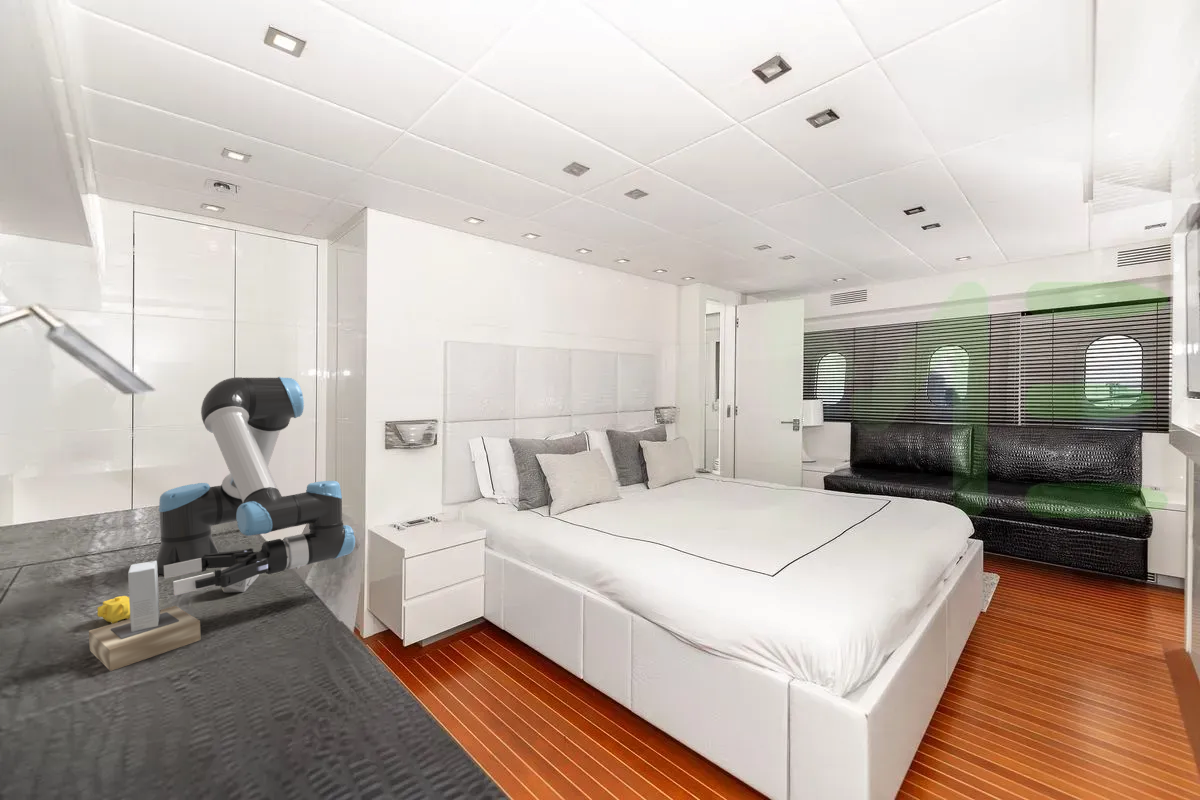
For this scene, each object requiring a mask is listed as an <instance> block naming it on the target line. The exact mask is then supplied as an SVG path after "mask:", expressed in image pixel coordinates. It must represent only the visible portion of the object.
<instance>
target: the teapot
mask: <svg viewBox="0 0 1200 800" xmlns="http://www.w3.org/2000/svg"><path fill="white" fill-rule="evenodd" d="M96 613H97V617H98V618H102V620H105V621H106V622H107V623H110V624H114V623H117V622H120V621H123V620H124V619H125V620H127V619H130V602H129V596H127V595H122V596H119V595H118V596H116V597H114V598H111V599H108V600H104V601H102V605H100V606H97V612H96Z"/></svg>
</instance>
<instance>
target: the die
mask: <svg viewBox="0 0 1200 800" xmlns="http://www.w3.org/2000/svg"><path fill="white" fill-rule="evenodd" d="M227 568H229V567H224V568H220V570H221V571H222V570H224V569H227ZM259 576H260V574H258V575H255V576H253V577H250V578H248V579H245V580H243V581H240V582H237V583H235V584H232V585H230V586H227V587H224V588H223V587H221V586H220V588H221V589H222V591H223V593H245V592H247V590H248V588H249V587H251V585H252V584H253V583H254V582H255V581H256V579H258V578H259Z"/></svg>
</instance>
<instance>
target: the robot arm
mask: <svg viewBox="0 0 1200 800" xmlns="http://www.w3.org/2000/svg"><path fill="white" fill-rule="evenodd" d="M304 400H305V399H304V395H303V391H302V388H301V386H300V385H299V382H298V381H296V380H295V379H294V378H292V377H281V376H277V377H239V376H238V377H230V378H227V379H226V378H225V379H224V380H221V381H219V382H218V383H216V384H215V385H214V386H212V387H211V389H209V391H207V393H206V395H205V396H204V398H203V400H202V404H201V408H200V414H201V415H200V416H201V420H202V422H203V425H204V427H205V430H207V431H208V432H210V433H212V434H213V435H214V438H215V441H216V442H217V445H218V448H219V450H220V452H221V455H222V457H223V459H224V461H225V464H226V466H227V469H228V471H229V473H228V474H227V475H226V476H224V478H223V479H222V482H221V485H216V486H210V484H209V483H207V482H198V483H191V484H186V485H182V486H177V487H174V488H171V489H168V490H167V491H164V492H163V493H162V494H161V495H160V497H159V502H158V503H159V504H158V512H159V525H160V526H159V528H160V529H159V530H160V546H159V549H158V551H157V554H156V558H155V559H154V561H157V571H158V575H163V577H164V579H165V580H167V579H170V578H174V577H178V576H184V575H187V574H193V573H197V572H202V573H203V572H205V571H207V569H215V570H214V572H213V571H212V572H209V573H203V574H200V575H195V576H190V577H186V578H182V579H177V580H173V581H172V582H173V583H172V587H173V595H174V596H179V595H182V594H186V593H191V592H194V591H200V590H203V589H207V588H212V587H220V588H221V587H223V588H224V587H227V586H230V585H232V584H235V583H237V582H240V581H243V580H245V579H248V578H250V577H253V576H255V575H258V574H259V575H261V574H265V573H266V574H267V575H272V574H276V573H281V572H284V571H285V570H286V569H287V570H292V569H296V570H300V568H301V567H304V566H308V565H311V564H312V565H313V564H316V563H321V562H325V561H329V560H336V559H338V558H341V557H344V556H347V555H350V554H351V553H353V551H354V550H355V546H356V536H355V531H354V530H353V528H352V526H350V525H348V524H344V523H343V500H342V499H343V497H342V490H341V489H342V488H341V485H340V483H339V481H336V480H322V481H321V480H320V481H315V482H311V483H308V485H307V486H306V489H305V492H302V493H301V492H300V493H297V494H290V495H284V496H282V494H281V492H280V490H279V488H278V486H277V483H276V482H275V479H274V477H273V475H272V472H271V471H270V469H269V464H270V461H271V457H272V456H273V452H274V449H275V447H276V444H277V441H278V438H279V435H280V432H281V431H283V430H285V429H286V428H287V427H288V426H289V425H290V421H291V419H292V418H293V419H296V418H299V417H301V416H302V415H303V413H304V406H305V405H304V404H305V401H304ZM233 522H234V523H235V522H237V527H238V530H239V532H240V533H241V534H242V535H244V536H248V537H251V536H256V535H257V536H258V535H263V534H264V535H265V534H268V533H271V532H276V531H280V530H285V529H288V528H293V527H298V526H299V527H300V526H304V525H308V529H309V532H306V533H301V534H295V535H290V536H285V537H283V538H282V539H281V538H277V539H272V540H267V541H264V542H263V543H262V544H261V549H260V550H259V551H254V548H252V547H250V548H245V549H241V550H233V551H232V550H231V551H222V552H219V550H218V547H217V545H216V543H215V541H214V539H213V537H212V536H213V535H212V526H216V525H222V524H227V523H233ZM224 567H229V568H227V569H224V570H222V571H221V569H222V568H224Z"/></svg>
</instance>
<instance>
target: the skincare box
mask: <svg viewBox="0 0 1200 800" xmlns="http://www.w3.org/2000/svg"><path fill="white" fill-rule="evenodd" d="M158 575H159V574H158V571H157V561H155V560H152V561H145V562H140V563H133V564H130V567H129V568H128V573H127V578H128V579H127V580H128V597H129V602H130V620H131V632H135V631H139V630H143V629H147V628H152V627H156V626H158V623H159V617H160V610H161V609H160V594H159V592H160V591H159V577H158Z"/></svg>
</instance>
